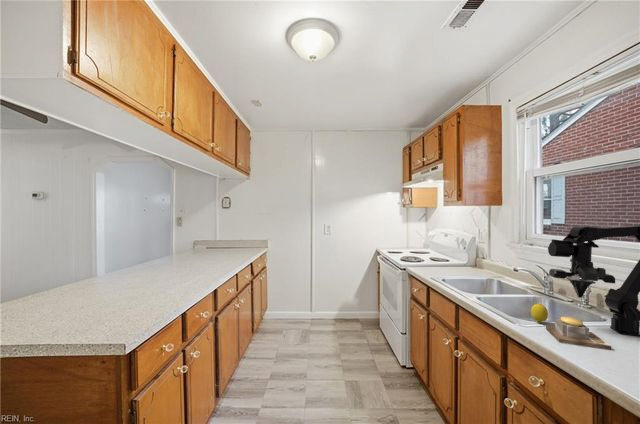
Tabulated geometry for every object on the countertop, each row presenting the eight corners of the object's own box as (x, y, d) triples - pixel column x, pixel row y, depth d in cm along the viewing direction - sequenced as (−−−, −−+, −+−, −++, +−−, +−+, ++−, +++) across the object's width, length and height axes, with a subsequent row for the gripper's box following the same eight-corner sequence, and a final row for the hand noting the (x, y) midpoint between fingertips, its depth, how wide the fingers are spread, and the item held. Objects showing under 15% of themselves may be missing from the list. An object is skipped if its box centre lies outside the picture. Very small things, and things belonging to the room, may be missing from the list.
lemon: (548, 322, 117) (548, 303, 117) (547, 326, 112) (547, 306, 112) (531, 319, 120) (531, 300, 120) (530, 322, 116) (530, 303, 116)
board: (591, 335, 105) (591, 321, 105) (611, 350, 94) (611, 335, 94) (545, 329, 110) (546, 316, 110) (559, 342, 99) (559, 328, 99)
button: (577, 331, 105) (577, 318, 105) (586, 337, 99) (586, 324, 99) (557, 328, 107) (557, 315, 107) (564, 334, 101) (565, 321, 101)
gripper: (561, 258, 107) (559, 299, 107) (625, 263, 101) (624, 307, 101) (549, 254, 118) (547, 292, 118) (607, 259, 111) (605, 298, 111)
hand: (579, 297), depth 112 cm, fingers closed
